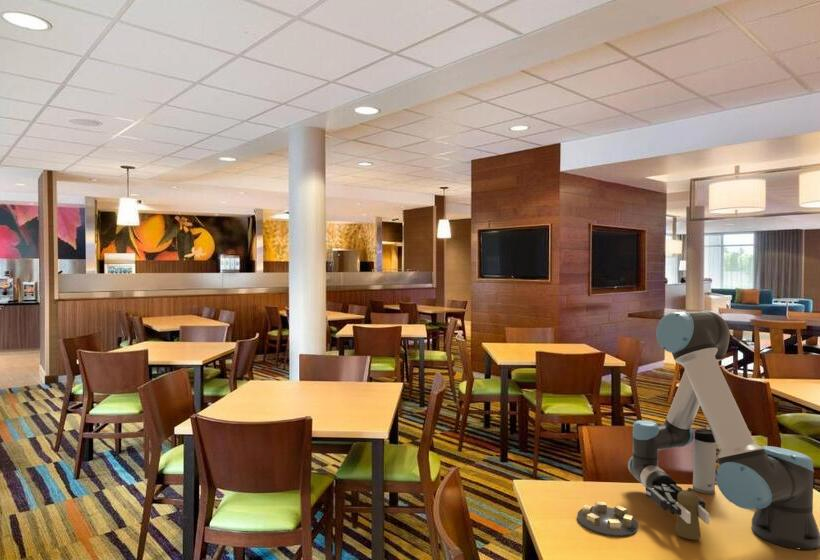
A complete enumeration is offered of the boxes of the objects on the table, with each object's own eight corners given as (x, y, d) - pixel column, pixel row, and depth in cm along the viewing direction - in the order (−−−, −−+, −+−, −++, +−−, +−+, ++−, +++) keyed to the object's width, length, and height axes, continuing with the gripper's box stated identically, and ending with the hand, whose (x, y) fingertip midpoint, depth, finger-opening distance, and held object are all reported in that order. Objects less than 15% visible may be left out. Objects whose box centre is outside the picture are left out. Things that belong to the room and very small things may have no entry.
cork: (704, 540, 133) (704, 498, 133) (679, 538, 134) (679, 496, 134) (696, 529, 139) (696, 489, 139) (672, 527, 140) (672, 487, 140)
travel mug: (715, 496, 163) (717, 433, 163) (692, 491, 167) (694, 430, 166) (716, 489, 168) (718, 429, 168) (693, 484, 172) (695, 425, 172)
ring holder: (642, 518, 147) (642, 508, 147) (632, 542, 134) (632, 531, 134) (585, 505, 156) (585, 495, 156) (570, 526, 142) (571, 515, 142)
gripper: (687, 496, 154) (732, 534, 131) (629, 494, 155) (664, 532, 132) (687, 471, 154) (732, 504, 131) (629, 469, 155) (664, 503, 132)
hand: (698, 518), depth 131 cm, fingers closed on cork, 4 cm apart
